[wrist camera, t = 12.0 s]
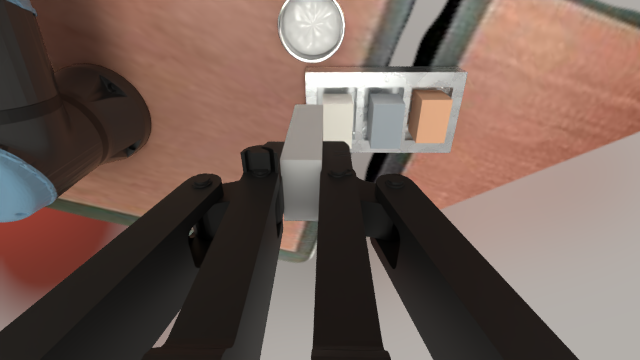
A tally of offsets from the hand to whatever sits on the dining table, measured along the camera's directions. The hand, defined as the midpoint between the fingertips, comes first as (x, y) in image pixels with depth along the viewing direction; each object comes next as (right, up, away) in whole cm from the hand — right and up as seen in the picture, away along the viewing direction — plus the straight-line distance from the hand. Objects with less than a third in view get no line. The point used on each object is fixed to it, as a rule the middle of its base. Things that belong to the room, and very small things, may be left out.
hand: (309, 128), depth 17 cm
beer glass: (0, +20, +26) cm, 33 cm away
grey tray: (+10, +9, +32) cm, 35 cm away
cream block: (+3, +7, +29) cm, 30 cm away
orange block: (+16, +8, +30) cm, 35 cm away
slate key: (+10, +7, +29) cm, 31 cm away
